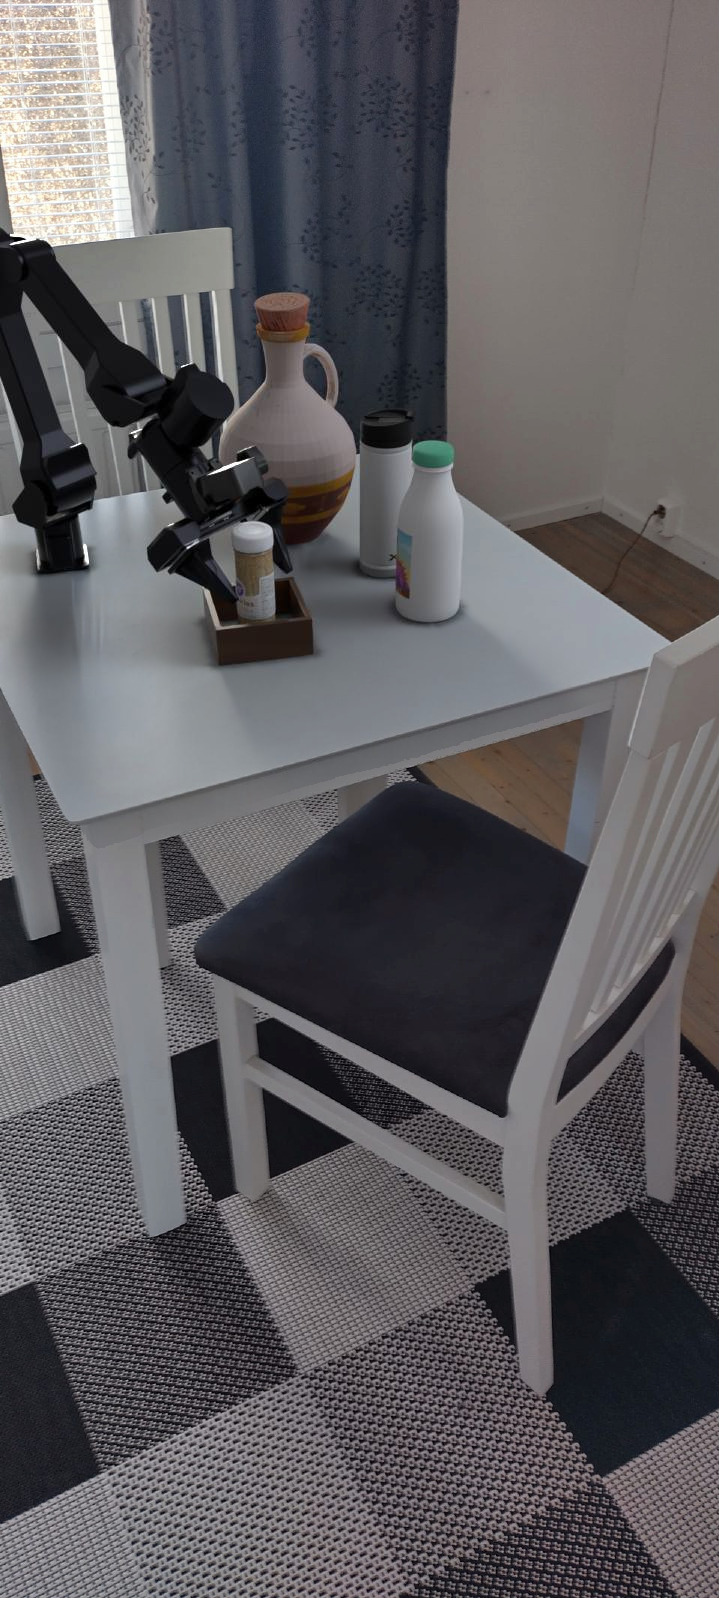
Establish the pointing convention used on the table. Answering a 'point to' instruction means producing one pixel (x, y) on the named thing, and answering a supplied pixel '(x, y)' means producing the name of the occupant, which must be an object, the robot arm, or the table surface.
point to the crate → (260, 628)
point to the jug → (295, 422)
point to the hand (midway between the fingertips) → (263, 586)
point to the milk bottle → (429, 538)
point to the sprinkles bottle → (254, 572)
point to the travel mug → (383, 486)
